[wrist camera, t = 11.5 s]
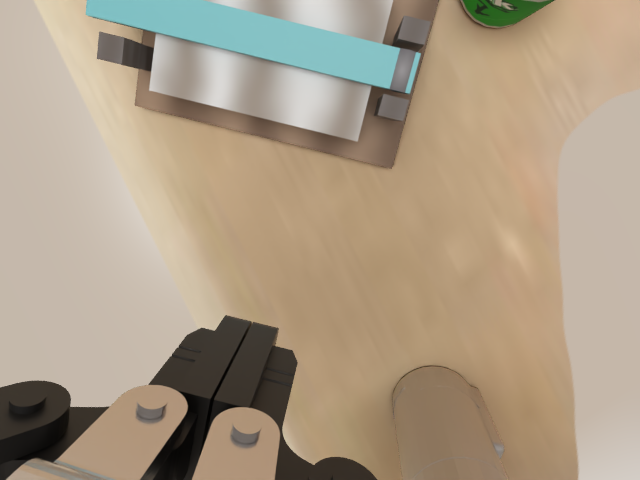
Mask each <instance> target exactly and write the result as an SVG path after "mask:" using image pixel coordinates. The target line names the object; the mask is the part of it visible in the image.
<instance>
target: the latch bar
mask: <svg viewBox="0 0 640 480" xmlns="http://www.w3.org/2000/svg"><path fill="white" fill-rule="evenodd" d="M86 15H88V16H90V17H93V18H97V19H101V20H105V21H109V22H113V23H117V24H121V25H126V26H130V27H134V28H138V29H142V30H146V31H150V32H154V33H158V34H162V35H166V36H171V37H175V38H179V39H183V40H187V41H191V42H195V43H199V44H203V45H207V46H211V47H216V48H220V49H224V50H228V51H232V52H236V53H240V54H244V55H248V56H252V57H256V58H261V59H265V60H269V61H273V62H277V63H281V64H285V65H289V66H293V67H297V68H301V69H306V70H310V71H314V72H318V73H322V74H326V75H330V76H334V77H338V78H342V79H346V80H351V81H355V82H359V83H363V84H367V85H371V86H375V87H379V88H383V89H387V90H391V91H394V92H399V93H404V94H410V91H411V88H412V84H413V80H414V77H415V73H416V70H417V66H418V62H419V59H420V55H421V53H418V52H415V51H412V50H408V49H403V48H397V47H393V46H389V45H385V44H381V43H377V42H372V41H368V40H364V39H360V38H356V37H352V36H348V35H344V34H340V33H336V32H331V31H327V30H323V29H319V28H315V27H311V26H307V25H303V24H299V23H295V22H290V21H286V20H282V19H278V18H274V17H270V16H266V15H262V14H258V13H254V12H249V11H245V10H241V9H237V8H233V7H229V6H225V5H221V4H217V3H213V2H208V1H204V0H87V5H86Z"/></svg>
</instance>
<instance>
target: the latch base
mask: <svg viewBox="0 0 640 480" xmlns="http://www.w3.org/2000/svg"><path fill="white" fill-rule="evenodd" d="M204 1H208V2H213V3H217V4H221V5H225V6H229V7H233V8H237V9H241V10H245V11H249V12H254V13H258V14H262V15H266V16H270V17H274V18H278V19H282V20H286V21H290V22H295V23H299V24H303V25H307V26H311V27H315V28H319V29H323V30H327V31H331V32H336V33H340V34H344V35H348V36H352V37H356V38H360V39H364V40H368V41H372V42H377V43H381V44H385V45H389V46H393V47H397V48H403V49H408V50H412V51H415V52H418V53H421V55H420V59H419V62H418V66H417V70H416V73H415V77H414V80H413V84H412V88H411V91H410V94H404V93H399V92H394V91H391V90H387V89H383V88H379V87H375V86H371V85H367V84H363V83H359V82H355V81H351V80H346V79H342V78H338V77H334V76H330V75H326V74H322V73H318V72H314V71H310V70H306V69H301V68H297V67H293V66H289V65H285V64H281V63H277V62H273V61H269V60H265V59H261V58H256V57H252V56H248V55H244V54H240V53H236V52H232V51H228V50H224V49H220V48H216V47H211V46H207V45H203V44H199V43H195V42H191V41H187V40H183V39H179V38H175V37H171V36H166V35H162V34H158V33H154V32H150V31H146V30H143V36H142V44H141V43H138V42H135V41H132V40H129V39H127V38H124V37H120V36H115V35H111V34H107V33H103V32H99V41H98V53H97V59H101V60H105V61H109V62H113V63H117V64H121V65H125V66H130V67H134V68H138V69H139V72H138V81H137V90H136V99H135V106H139V107H143V108H147V109H151V110H155V111H159V112H163V113H167V114H171V115H175V116H179V117H183V118H187V119H191V120H196V121H200V122H204V123H208V124H212V125H216V126H220V127H224V128H228V129H232V130H236V131H240V132H244V133H248V134H252V135H257V136H261V137H265V138H269V139H273V140H277V141H281V142H285V143H289V144H293V145H297V146H301V147H305V148H309V149H313V150H318V151H322V152H326V153H330V154H334V155H338V156H342V157H346V158H350V159H354V160H358V161H362V162H366V163H370V164H374V165H378V166H383V167H387V168H391V169H392V167H393V163H394V159H395V156H396V152H397V149H398V145H399V141H400V138H401V134H402V131H403V127H404V124H405V120H406V116H407V113H408V109H409V106H410V102H411V99H412V95H413V91H414V88H415V84H416V81H417V77H418V73H419V70H420V66H421V63H422V59H423V56H424V52H425V48H426V45H427V41H428V38H429V34H430V31H431V27H432V23H433V20H434V16H435V13H436V9H437V5H438V2H439V0H204Z"/></svg>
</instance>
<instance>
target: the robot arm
mask: <svg viewBox="0 0 640 480" xmlns="http://www.w3.org/2000/svg"><path fill="white" fill-rule="evenodd" d="M278 330H279V328H275V327H271V326H267V325H263V324H259V323H255V322H253V323H252V322H251V321H247V320H243V319H239V318H235V317H231V316H227V315H226V316H225V317H224V318H223V320H222V321H221V323H220V324H219V326H218V327H217V329H216V330H215V331H213V330H209V329H205V328H200V329H198V330H196V331H194V332H192V333H190V334H189V335H187V336H186V337H185V339H184V340H183V341H182V342H181V344H180V345H179V348H177V349H176V350H175V351H174V353H173V354H172V356H171V357H170V358H169V359H168V360H167V362H166V363H165V364H164V365H163V367H162V368H161V369H160V371H159V372H158V373H157V374H156V376H155V377H154V378H153V380H152V381H151V382H150V383H149V385H145V386H140V387H136V388H133V389H131V390H128V391H127V392H126V393H124V394H122V395H121V396H120V397H119V398H118V399H117V400H116V401H115V402H114V403H113V404H112V405H111V406H110V407H70V401H71V398H70V394H69V392H68V391H67V390H66V389H65V388H64V387H62V386H61V385H58V384H56V383H52V382H47V381H27V382H21V383H16V384H12V385H9V386H5V387H1V388H0V480H377V479H376V478H375V476H374V475H373V474H372V473H371V472H370V471H369V470H368V469H366V468H365V467H364V466H362V465H361V464H359V463H357V462H355V461H353V460H350V459H347V458H342V457H330V458H325V459H323V460H320V461H319V462H318V463H316V464H315V465H312V464H311V463H309V462H307V461H305V460H304V459H302V458H300V457H299V456H298V455H296V454H295V453H294V452H293V451H292V450H291V449H290V448H289V446H288V445H287V444H286V442H285V440H284V437H283V433H282V426H283V421H284V417H285V413H286V409H287V405H288V400H289V396H290V392H291V388H292V384H293V379H294V375H295V371H296V367H297V360H296V358H295V355H294V353H293V351H292V350H288V349H284V348H280V347H277V346H275V344H276V340H277V335H278ZM392 402H393V415H394V420H395V428H396V436H397V444H398V451H399V459H400V466H401V474H402V480H509V479H508V477H507V474H506V472H505V470H504V467H503V465H502V462H501V460H500V459H501V457H502V454H503V452H504V445H503V442H502V440H501V438H500V436H499V434H498V431H497V429H496V427H495V425H494V423H493V421H492V418H491V416H490V414H489V412H488V410H487V407H486V405H485V403H484V401H483V399H482V396H481V394H480V392H479V390H478V388H475V387H472V386H469V385H468V384H467V382H466V381H465V380H464V379H463V378H462V377H461V376H460V375H459V374H457V373H456V372H454V371H452V370H450V369H447V368H443V367H436V366H429V367H422V368H419V369H416V370H414V371H412V372H410V373H408V374H407V375H406V376H404V377H403V378H402V379H401V380H400V381H399V383H398V384H397V386H396V388H395V390H394V393H393V398H392Z"/></svg>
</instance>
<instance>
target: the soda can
mask: <svg viewBox="0 0 640 480" xmlns="http://www.w3.org/2000/svg"><path fill="white" fill-rule="evenodd" d="M553 1H554V0H461V3H462V5H463V7H464V10H465V12H466V13H467V14H468V15H469V16H470V17H471V18H472V19H473V20H474V21H475V22H477V23H479V24H481V25H483V26H485V27H493V28H502V27H506V26H511V25H514V24H515V23H517V22H519V21H521V20H522V19H524V18H526V17H528V16H529V15H531V14H533V13H534V12H536V11H538V10H539V9H541V8H543V7H544V6H546V5H548V4H549V3H551V2H553Z"/></svg>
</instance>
